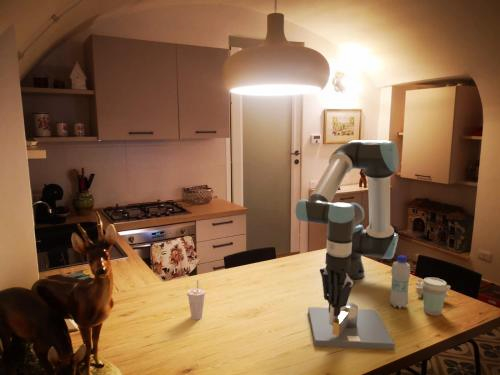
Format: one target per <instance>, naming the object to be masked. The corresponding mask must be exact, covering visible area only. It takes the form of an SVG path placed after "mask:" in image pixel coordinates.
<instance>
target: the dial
mask: <svg viewBox="0 0 500 375" xmlns="http://www.w3.org/2000/svg"><path fill="white" fill-rule="evenodd" d="M358 309H359V306H358V305H357V304H355V303H353V302H348V301H347V304H346V306H344V307H341V308H340V315H339V316H338V317H337V318H336V319H335V320H334V321H333V330H332V334H333V335H336V336H340V334H341V332H342V331H343V330H344V328H345V327H347V328H353V327H356V326H357V315H358Z"/></svg>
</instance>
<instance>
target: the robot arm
mask: <svg viewBox="0 0 500 375" xmlns="http://www.w3.org/2000/svg"><path fill="white" fill-rule="evenodd" d="M399 161H400V155H399V149H398V146H397V144H396V143H395V142H394V141H391V140H384V139H383V140H379V139H378V140H371V139H370V140H368V139H367V140H366V139H365V140H364V139H363V140H362V139H356V140H351V141H347V142H345V143H344V144H342V145H340V146H339V147H337V149H336V150H334V152H332V154H331V155H330V157H329V160H328V166H327V167H326V169H325V171H324V172H323V174H322V176H321V177H320V179H319V180H318V183H317V184H316V185H315V187H314V188H313V190H312V192H311V193H310V195H309V197H308V198H307V199H306V198H305V199H299V200H298V201H297V203H296V206H295V216H296V219H297V220H298V221H301V222H306V223H311V224H312V223H313V224H319V225H321V224H322V225H326V226H327V233H326V246H325V247H326V248H325V249H326V253H325V262H324V263H325V267H324V268H320V269H319V273H320V276H321V281H322V289H323V297H324V300H325V301H327V302H328V308H329V313H330V317H329V324H330V325H331V326H333V321H334V320H335V319H336V318H337V317H338V316H339V315H340V308H341V307H344V306H346V304H347V302H348V301H349V298H350V295H351V292H352V289H353V287H354V286H355V284H356V281H355V280H359V279H363V278H364V276H365V267H364V264H363V260H362V255H363V256H368V257H374V258H379V259H382V260H383V259H384V260H385V259H386V260H392V259H393V258H394V256H395V253H396V249H397V244H398V240H399V234H398V233H396V232H395V229H394V227H393V226H392V225H391V177H393V175H394V174H395V171H398V170H399V166H400V162H399ZM352 169H353V170H354V169H357V170H363V174H364V176H365V177H366V178H367V185H368V186H367V188H368V189H367V191H368V222H369V224H368V226H366V228H364V225H363V224H361V223H362V221H363V220H364V218H365V210H364V207H362V205H360V204H359V203H357V202H349V203H348V202H342V201H341V202H339V201H338V202H332V201H333V199H334V197H335V195H336V193H337V191H338V190H339V188H340V185H341V184H342V182H343V180H344V178H345V177H346V175H347V174H348V173H350V172H351V170H352Z"/></svg>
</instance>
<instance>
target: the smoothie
mask: <svg viewBox="0 0 500 375" xmlns="http://www.w3.org/2000/svg"><path fill="white" fill-rule="evenodd" d="M199 285H200V284H199V279H196V287H193V288H190V289H188V290H187V292H186V293H187V294H186V295H187V297H188V303H189V310H190V317H191V318H190V319H192V320H193V321H198V320H201V319H202V318H203V311H204V304H205V296H206V290H205V289H204V288H201V287H199Z"/></svg>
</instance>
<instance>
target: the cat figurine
mask: <svg viewBox="0 0 500 375" xmlns="http://www.w3.org/2000/svg"><path fill="white" fill-rule="evenodd" d="M422 282H423V280H421V279H419V278H418V279H417V281H416V283H415V292H416V294H417V295H418V296H419V297H420V298H422V299H423V286H422ZM447 286H448V287H447V288H448V289H447V290H446V295H445V299H446V298H449V297H450V294H449V293H448V291H449V290H450V289H451V285H447Z"/></svg>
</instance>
